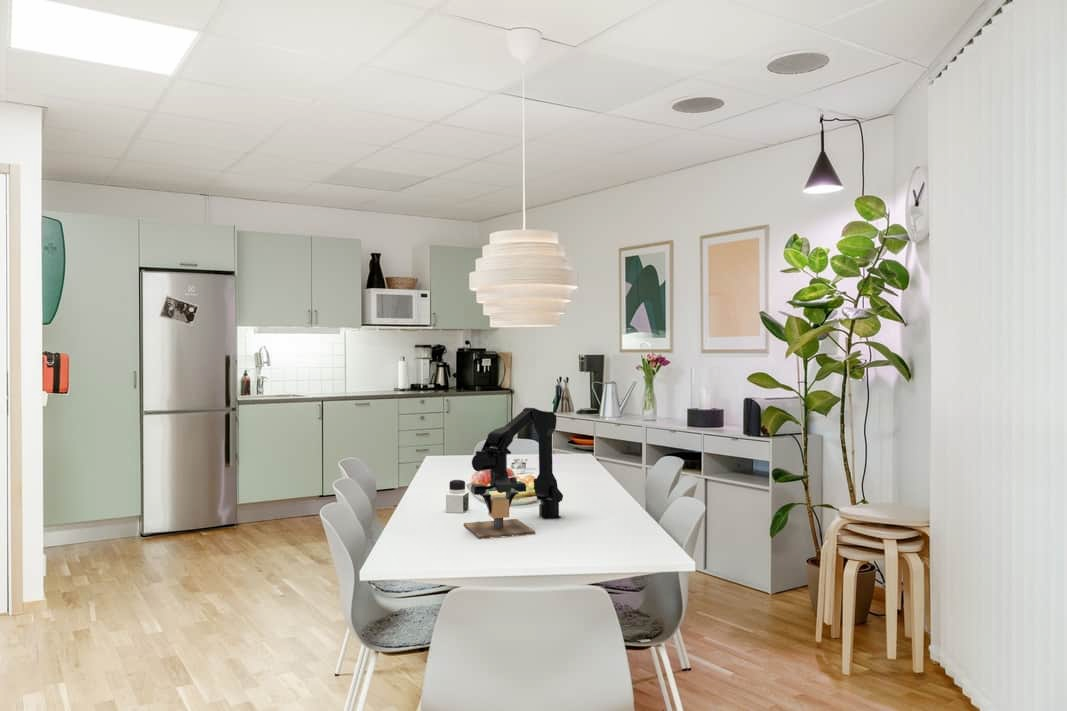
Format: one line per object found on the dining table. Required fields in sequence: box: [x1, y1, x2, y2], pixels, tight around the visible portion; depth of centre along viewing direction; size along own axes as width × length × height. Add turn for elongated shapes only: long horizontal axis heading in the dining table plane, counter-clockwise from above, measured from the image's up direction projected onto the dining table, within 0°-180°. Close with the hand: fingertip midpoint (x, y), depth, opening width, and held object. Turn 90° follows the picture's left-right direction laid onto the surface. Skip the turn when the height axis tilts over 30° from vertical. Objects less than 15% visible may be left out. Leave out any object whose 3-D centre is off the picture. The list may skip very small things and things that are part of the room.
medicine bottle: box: [445, 479, 470, 514], centre depth 301 cm, size 7×7×12 cm
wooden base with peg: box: [463, 518, 536, 540], centre depth 270 cm, size 20×20×8 cm
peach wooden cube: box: [487, 496, 510, 519], centre depth 270 cm, size 6×6×6 cm
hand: (498, 512), depth 270 cm, fingers closed on peach wooden cube, 6 cm apart
